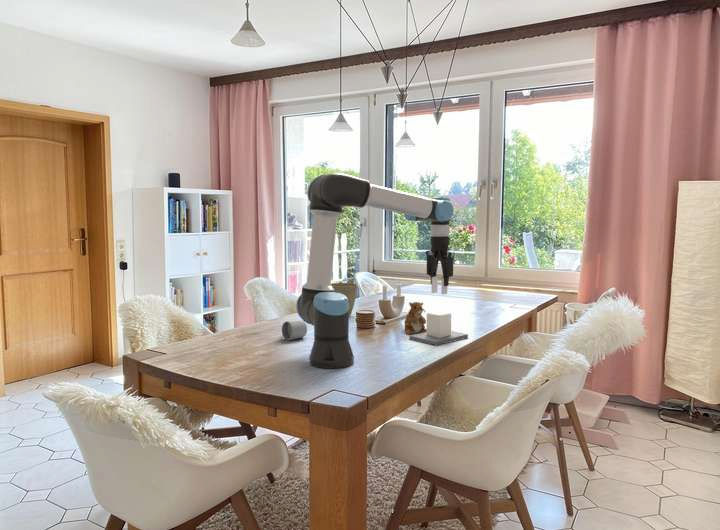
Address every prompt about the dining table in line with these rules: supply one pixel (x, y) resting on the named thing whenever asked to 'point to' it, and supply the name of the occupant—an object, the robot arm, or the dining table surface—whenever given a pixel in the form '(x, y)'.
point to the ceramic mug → (293, 330)
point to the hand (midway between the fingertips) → (439, 293)
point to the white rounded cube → (438, 324)
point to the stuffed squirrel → (415, 319)
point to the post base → (437, 338)
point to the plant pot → (347, 292)
